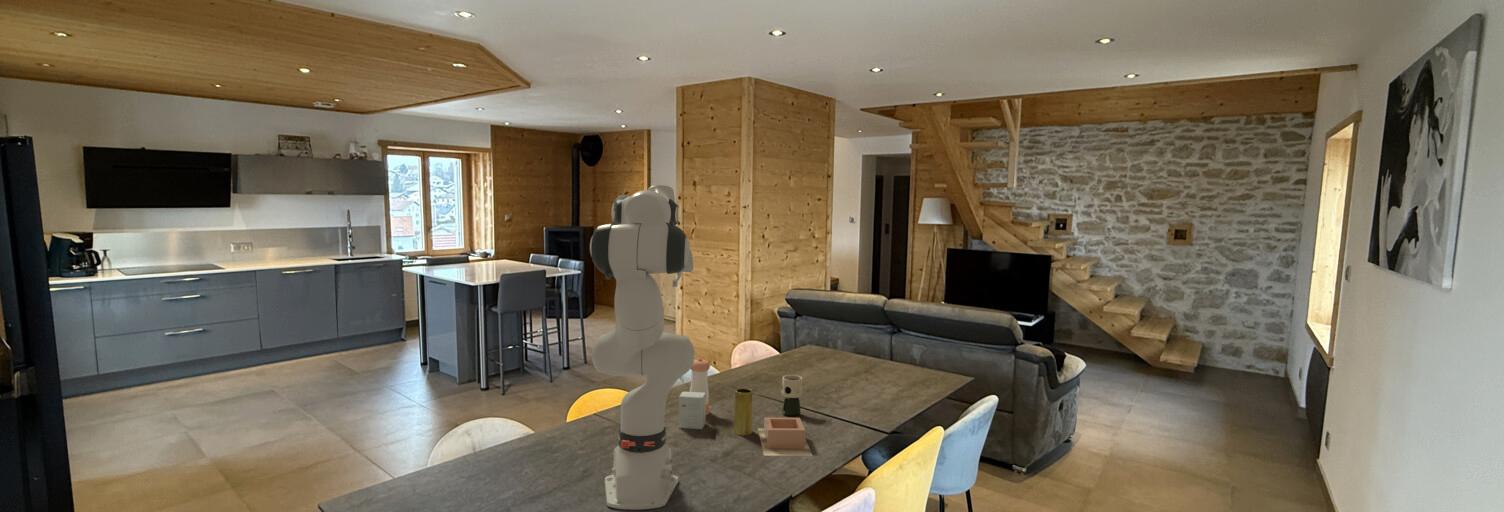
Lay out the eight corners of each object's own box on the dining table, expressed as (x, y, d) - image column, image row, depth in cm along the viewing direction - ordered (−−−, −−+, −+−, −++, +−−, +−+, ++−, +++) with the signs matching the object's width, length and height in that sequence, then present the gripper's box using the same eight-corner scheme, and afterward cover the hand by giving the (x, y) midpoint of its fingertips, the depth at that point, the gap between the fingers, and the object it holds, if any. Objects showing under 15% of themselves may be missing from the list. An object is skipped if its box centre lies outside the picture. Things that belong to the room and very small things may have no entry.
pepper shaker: (684, 414, 221) (685, 359, 219) (692, 408, 228) (694, 354, 226) (704, 417, 219) (706, 361, 217) (712, 410, 226) (713, 356, 224)
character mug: (774, 411, 228) (775, 374, 227) (791, 408, 231) (792, 372, 230) (791, 420, 218) (792, 382, 217) (808, 417, 222) (810, 380, 221)
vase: (750, 439, 200) (751, 394, 199) (730, 437, 201) (732, 392, 200) (754, 432, 206) (755, 388, 205) (735, 430, 207) (736, 386, 206)
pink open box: (804, 448, 191) (805, 430, 191) (767, 448, 190) (767, 430, 190) (799, 434, 202) (799, 417, 202) (764, 434, 201) (764, 417, 201)
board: (812, 459, 186) (812, 455, 186) (763, 459, 185) (763, 455, 185) (801, 431, 208) (801, 428, 208) (757, 431, 207) (757, 428, 207)
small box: (705, 423, 213) (706, 392, 212) (702, 429, 207) (703, 397, 206) (681, 422, 213) (682, 390, 213) (678, 428, 208) (678, 396, 207)
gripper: (623, 240, 189) (623, 287, 190) (694, 241, 192) (693, 288, 193) (625, 239, 195) (624, 284, 196) (693, 240, 198) (692, 285, 199)
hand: (659, 286), depth 195 cm, fingers open, 8 cm apart
